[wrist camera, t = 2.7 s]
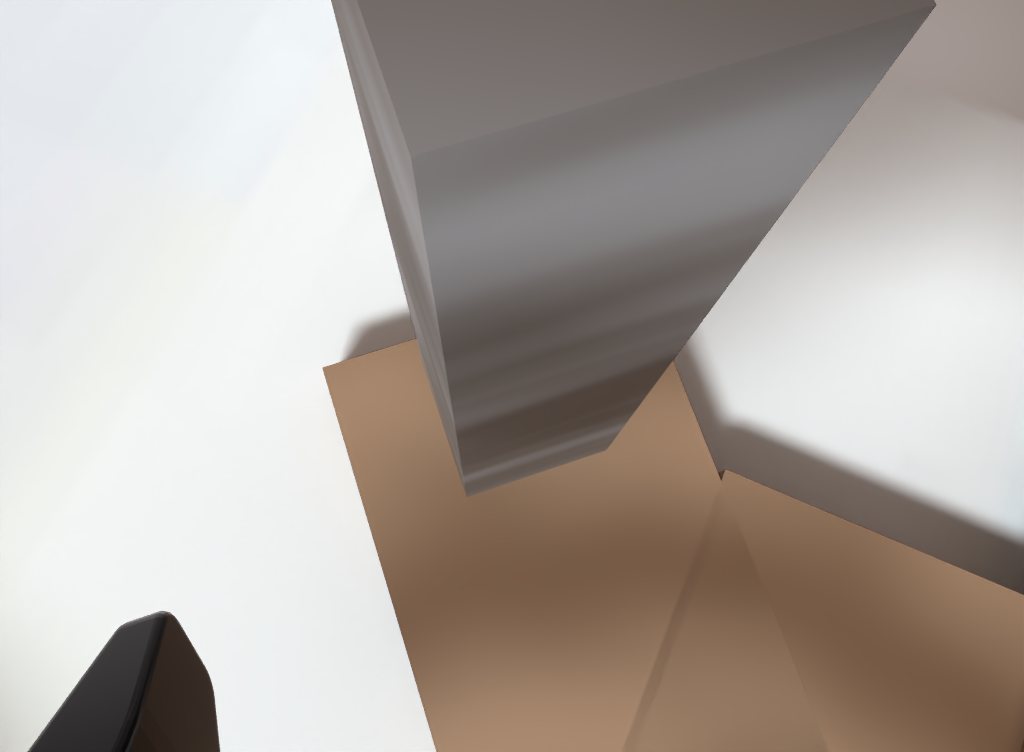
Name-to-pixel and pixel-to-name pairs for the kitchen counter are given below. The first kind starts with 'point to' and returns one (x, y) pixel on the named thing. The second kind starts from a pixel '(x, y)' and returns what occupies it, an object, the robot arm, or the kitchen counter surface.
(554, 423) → the pull board
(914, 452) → the kitchen counter surface
